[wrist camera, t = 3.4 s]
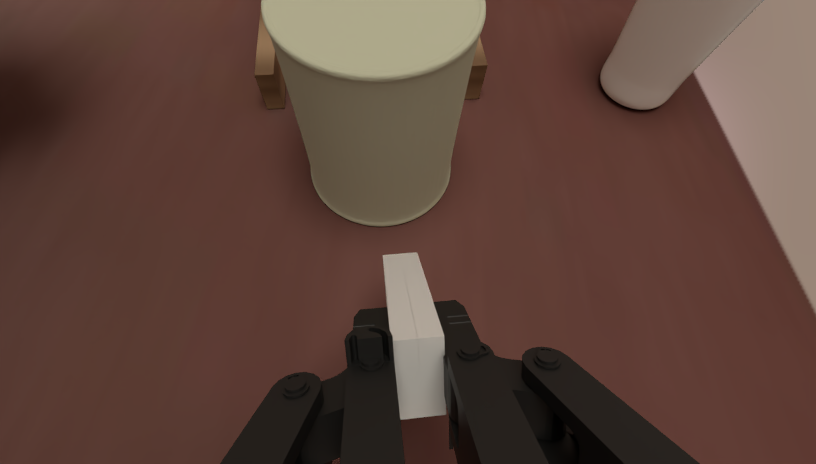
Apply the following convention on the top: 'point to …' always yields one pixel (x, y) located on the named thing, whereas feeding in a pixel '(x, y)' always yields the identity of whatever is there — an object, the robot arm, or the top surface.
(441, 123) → the can
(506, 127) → the top surface
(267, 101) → the corral
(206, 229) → the top surface
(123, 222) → the top surface
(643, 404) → the top surface
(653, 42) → the drinking glass
